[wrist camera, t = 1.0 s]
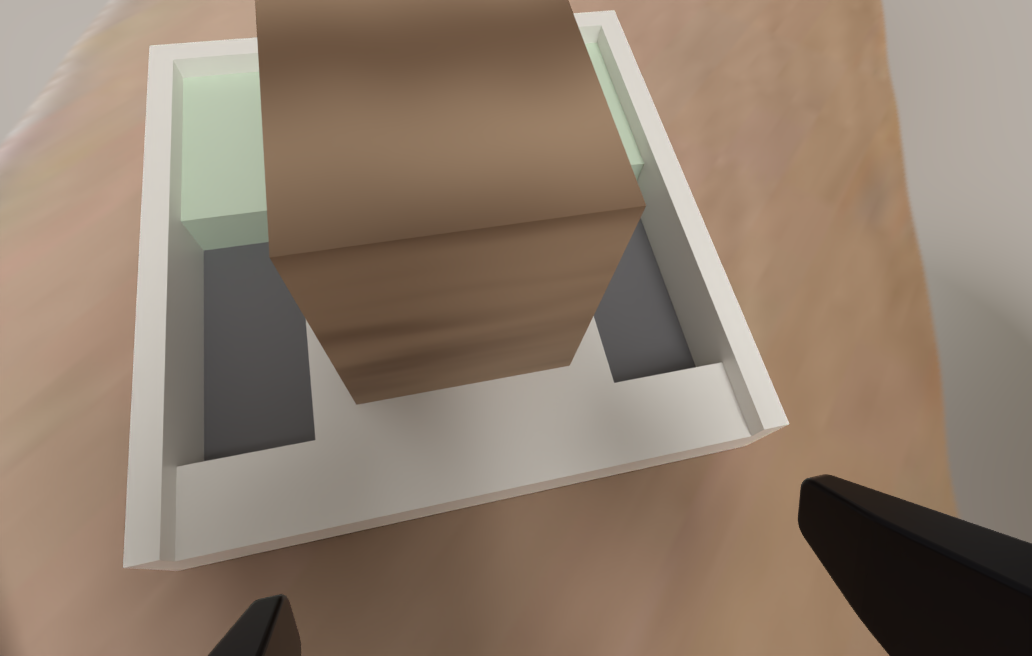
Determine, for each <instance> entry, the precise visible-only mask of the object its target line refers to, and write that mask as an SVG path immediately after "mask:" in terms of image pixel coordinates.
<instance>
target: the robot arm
mask: <svg viewBox="0 0 1032 656" xmlns="http://www.w3.org/2000/svg"><path fill="white" fill-rule="evenodd" d="M798 524H799V528H800V530H801V533H802V535H803V536H804V538H805V539H806V541H807V542H808V544H809V545H810V547H811V548H812V550H813V551H814V553H815V554H816V555H817V557H818V558H819V560H820V561H821V563H822V564H823V566H824V567H825V569H826V570H827V572H828V573H829V575H830V576H831V578H832V579H833V581H834V582H835V583H836V585H837V586H838V588H839V589H840V591H841V592H842V594H843V595H844V597H845V598H846V600H847V601H848V603H849V604H850V606H851V607H852V608H853V610H854V611H855V612H856V614H857V615H858V617H859V618H860V619H861V621H862V622H863V623H864V624H865V626H866V627H867V628H868V630H869V631H870V632H871V633H872V635H873V636H874V637H875V638H876V640H877V641H878V642H879V643H880V644H881V646H882V647H883V648H884V649H885V651H886V652H887V653H888V654H889V656H1032V543H1028V542H1026V541H1022V540H1019V539H1017V538H1014V537H1011V536H1008V535H1005V534H1002V533H999V532H996V531H993V530H991V529H988V528H985V527H982V526H979V525H976V524H973V523H970V522H967V521H964V520H961V519H958V518H955V517H952V516H950V515H947V514H944V513H941V512H938V511H935V510H932V509H929V508H926V507H923V506H920V505H917V504H914V503H911V502H908V501H906V500H903V499H900V498H897V497H894V496H891V495H888V494H885V493H882V492H879V491H876V490H873V489H870V488H867V487H865V486H862V485H859V484H856V483H853V482H850V481H847V480H844V479H841V478H838V477H835V476H832V475H827V474H825V475H819V476H815V477H810V478H807V479H805V480H804V481H803V482H802V484H801V489H800V500H799V511H798ZM208 656H301V642H300V636H299V633H298V629H297V626H296V622H295V619H294V616H293V612H292V609H291V605H290V602H289V600H288V598H287V597H286V596H285V595H283V594H280V595H275V596H271V597H266V598H262V599H258V600H256V601H254V602H253V603H252V604H251V605H250V606H249V608H248V609H247V610H246V611H245V612H244V613H243V615H242V616H241V617H240V618H239V619H238V620H237V622H236V623H235V624H234V625H233V626H232V628H231V629H230V630H229V631H228V632H227V633H226V635H225V636H224V637H223V638H222V639H221V641H220V642H219V643H218V644H217V645H216V646H215V648H214V649H213V650H212V651H211V652H210V653H209V655H208Z"/></svg>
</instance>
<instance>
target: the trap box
mask: <svg viewBox="0 0 1032 656" xmlns="http://www.w3.org/2000/svg"><path fill="white" fill-rule="evenodd" d="M573 14H574V17H575V19H576V22H577V25H578V27H579V30H580V32H581V35H582V38H583V40H584V43H585V46H586V48H587V51H588V53H589V56H590V59H591V61H592V64H593V67H594V69H595V72H596V75H597V77H598V80H599V82H600V85H601V88H602V90H603V93H604V96H605V98H606V101H607V104H608V106H609V109H610V111H611V114H612V117H613V119H614V122H615V125H616V127H617V130H618V132H619V135H620V138H621V140H622V143H623V146H624V148H625V151H626V154H627V156H628V159H629V161H630V164H631V167H632V169H633V172H634V175H635V177H636V180H637V183H638V185H639V188H640V190H641V193H642V196H643V198H644V201H645V204H646V207H645V209H644V211H643V214H642V216H641V218H640V220H639V222H638V224H637V226H636V228H635V230H634V232H633V234H632V237H631V239H630V241H629V243H628V245H627V247H626V249H625V251H624V253H623V255H622V257H621V260H620V262H619V264H618V266H617V268H616V270H615V272H614V274H613V276H612V278H611V280H610V283H609V285H608V287H607V289H606V291H605V293H604V295H603V297H602V299H601V301H600V303H599V306H598V308H597V310H596V312H595V314H594V316H593V318H592V320H591V322H590V324H589V326H588V329H587V331H586V333H585V335H584V337H583V339H582V341H581V343H580V345H579V347H578V349H577V352H576V354H575V356H574V358H573V360H572V362H571V364H570V366H565V367H560V368H554V369H549V370H543V371H538V372H533V373H527V374H522V375H516V376H511V377H505V378H500V379H494V380H489V381H483V382H478V383H473V384H467V385H462V386H456V387H451V388H445V389H440V390H434V391H429V392H424V393H418V394H413V395H407V396H402V397H396V398H391V399H385V400H380V401H374V402H369V403H364V404H358V405H356V403H355V402H354V400H353V398H352V396H351V395H350V393H349V391H348V390H347V388H346V386H345V385H344V383H343V381H342V380H341V378H340V376H339V374H338V373H337V371H336V369H335V368H334V366H333V364H332V363H331V361H330V359H329V357H328V356H327V354H326V352H325V351H324V349H323V347H322V346H321V344H320V342H319V341H318V339H317V337H316V335H315V334H314V332H313V330H312V329H311V327H310V325H309V324H308V322H307V320H306V319H305V317H304V315H303V313H302V312H301V310H300V308H299V307H298V305H297V303H296V302H295V300H294V298H293V296H292V295H291V293H290V291H289V290H288V288H287V286H286V285H285V283H284V281H283V280H282V278H281V276H280V274H279V273H278V271H277V269H276V268H275V266H274V264H273V263H272V261H271V259H270V257H269V239H268V222H267V204H266V186H265V168H264V150H263V132H262V114H261V96H260V78H259V61H258V43H257V38H244V39H230V40H217V41H204V42H191V43H178V44H164V45H151V46H150V47H149V67H148V86H147V106H146V125H145V145H144V165H143V184H142V204H141V224H140V243H139V263H138V283H137V302H136V322H135V342H134V361H133V381H132V400H131V420H130V440H129V459H128V479H127V499H126V518H125V538H124V558H123V568H133V569H151V570H169V571H180V570H184V569H189V568H193V567H198V566H202V565H207V564H211V563H216V562H221V561H225V560H230V559H234V558H239V557H243V556H248V555H252V554H257V553H262V552H266V551H271V550H275V549H280V548H284V547H289V546H293V545H298V544H302V543H307V542H312V541H316V540H321V539H325V538H330V537H334V536H339V535H343V534H348V533H353V532H357V531H362V530H366V529H371V528H375V527H380V526H384V525H389V524H393V523H398V522H403V521H407V520H412V519H416V518H421V517H425V516H430V515H434V514H439V513H443V512H448V511H453V510H457V509H462V508H466V507H471V506H475V505H480V504H484V503H489V502H494V501H498V500H503V499H507V498H512V497H516V496H521V495H525V494H530V493H534V492H539V491H544V490H548V489H553V488H557V487H562V486H566V485H571V484H575V483H580V482H584V481H589V480H594V479H598V478H603V477H607V476H612V475H616V474H621V473H625V472H630V471H635V470H639V469H644V468H648V467H653V466H657V465H662V464H666V463H671V462H675V461H680V460H685V459H689V458H694V457H698V456H703V455H707V454H712V453H716V452H721V451H725V450H730V449H735V448H739V447H744V446H747V445H749V444H751V443H753V442H755V441H757V440H759V439H761V438H763V437H765V436H767V435H769V434H771V433H773V432H775V431H777V430H779V429H781V428H783V427H785V426H787V425H789V422H788V420H787V417H786V415H785V413H784V410H783V408H782V406H781V403H780V401H779V398H778V396H777V394H776V391H775V389H774V387H773V384H772V382H771V379H770V377H769V375H768V372H767V370H766V368H765V365H764V363H763V361H762V358H761V356H760V353H759V351H758V349H757V346H756V344H755V342H754V339H753V337H752V335H751V332H750V330H749V327H748V325H747V323H746V320H745V318H744V316H743V313H742V311H741V309H740V306H739V304H738V301H737V299H736V297H735V294H734V292H733V290H732V287H731V285H730V283H729V280H728V278H727V275H726V273H725V271H724V268H723V266H722V264H721V261H720V259H719V257H718V254H717V252H716V249H715V247H714V245H713V242H712V240H711V238H710V235H709V233H708V231H707V228H706V226H705V223H704V221H703V219H702V216H701V214H700V212H699V209H698V207H697V205H696V202H695V200H694V197H693V195H692V193H691V190H690V188H689V186H688V183H687V181H686V179H685V176H684V174H683V171H682V169H681V167H680V164H679V162H678V160H677V157H676V155H675V153H674V150H673V148H672V145H671V143H670V141H669V138H668V136H667V134H666V131H665V129H664V127H663V124H662V122H661V119H660V117H659V115H658V112H657V110H656V108H655V105H654V103H653V101H652V98H651V96H650V93H649V91H648V89H647V86H646V84H645V82H644V79H643V77H642V75H641V72H640V70H639V67H638V65H637V63H636V60H635V58H634V56H633V53H632V51H631V49H630V46H629V44H628V41H627V39H626V37H625V34H624V32H623V30H622V27H621V25H620V23H619V20H618V18H617V15H616V13H615V11H614V10H612V11H599V12H586V13H573Z"/></svg>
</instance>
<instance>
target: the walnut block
mask: <svg viewBox="0 0 1032 656" xmlns="http://www.w3.org/2000/svg"><path fill="white" fill-rule="evenodd" d="M255 7H256V25H257V43H258V61H259V78H260V96H261V114H262V132H263V150H264V168H265V186H266V204H267V222H268V239H269V257H270V259H271V261H272V263H273V264H274V266H275V268H276V269H277V271H278V273H279V274H280V276H281V278H282V280H283V281H284V283H285V285H286V286H287V288H288V290H289V291H290V293H291V295H292V296H293V298H294V300H295V302H296V303H297V305H298V307H299V308H300V310H301V312H302V313H303V315H304V317H305V319H306V320H307V322H308V324H309V325H310V327H311V329H312V330H313V332H314V334H315V335H316V337H317V339H318V341H319V342H320V344H321V346H322V347H323V349H324V351H325V352H326V354H327V356H328V357H329V359H330V361H331V363H332V364H333V366H334V368H335V369H336V371H337V373H338V374H339V376H340V378H341V380H342V381H343V383H344V385H345V386H346V388H347V390H348V391H349V393H350V395H351V396H352V398H353V400H354V402H355V403H356V405H358V404H364V403H369V402H374V401H380V400H385V399H391V398H396V397H402V396H407V395H413V394H418V393H424V392H429V391H434V390H440V389H445V388H451V387H456V386H462V385H467V384H473V383H478V382H483V381H489V380H494V379H500V378H505V377H511V376H516V375H522V374H527V373H533V372H538V371H543V370H549V369H554V368H560V367H565V366H570V364H571V362H572V360H573V358H574V356H575V354H576V352H577V349H578V347H579V345H580V343H581V341H582V339H583V337H584V335H585V333H586V331H587V329H588V326H589V324H590V322H591V320H592V318H593V316H594V314H595V312H596V310H597V308H598V306H599V303H600V301H601V299H602V297H603V295H604V293H605V291H606V289H607V287H608V285H609V283H610V280H611V278H612V276H613V274H614V272H615V270H616V268H617V266H618V264H619V262H620V260H621V257H622V255H623V253H624V251H625V249H626V247H627V245H628V243H629V241H630V239H631V237H632V234H633V232H634V230H635V228H636V226H637V224H638V222H639V220H640V218H641V216H642V214H643V211H644V209H645V207H646V204H645V201H644V198H643V196H642V193H641V190H640V188H639V185H638V183H637V180H636V177H635V175H634V172H633V169H632V167H631V164H630V161H629V159H628V156H627V154H626V151H625V148H624V146H623V143H622V140H621V138H620V135H619V132H618V130H617V127H616V125H615V122H614V119H613V117H612V114H611V111H610V109H609V106H608V104H607V101H606V98H605V96H604V93H603V90H602V88H601V85H600V82H599V80H598V77H597V75H596V72H595V69H594V67H593V64H592V61H591V59H590V56H589V53H588V51H587V48H586V46H585V43H584V40H583V38H582V35H581V32H580V30H579V27H578V25H577V22H576V19H575V17H574V14H573V11H572V9H571V6H570V3H569V1H568V0H255Z"/></svg>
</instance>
